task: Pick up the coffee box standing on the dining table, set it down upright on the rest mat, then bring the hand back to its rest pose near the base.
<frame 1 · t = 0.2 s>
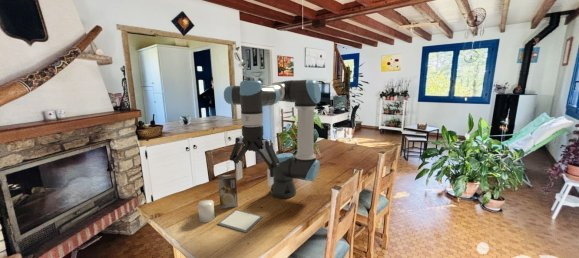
hand: (254, 181, 91), 28 cm above the table, fingers open, 13 cm apart
rest mat: (240, 220, 116), on the table
cream capsule pill: (207, 218, 118), on the table
coffee box: (228, 205, 131), on the table
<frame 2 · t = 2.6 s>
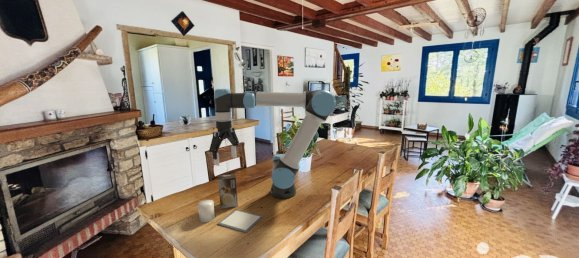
hand: (225, 161, 127), 24 cm above the table, fingers open, 13 cm apart
nothing on the table moved.
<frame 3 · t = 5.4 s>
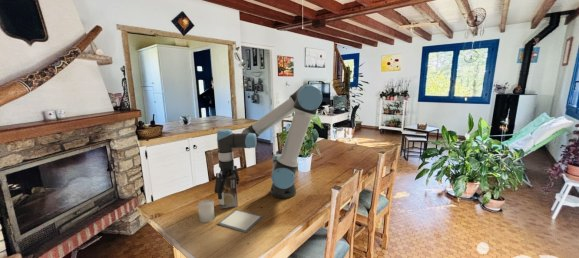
hand: (228, 199, 131), 3 cm above the table, fingers closed on coffee box, 10 cm apart
coffee box: (228, 205, 131), on the table, touching gripper
everything else where it was.
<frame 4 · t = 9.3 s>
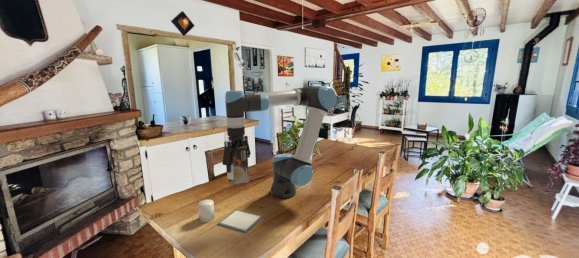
hand: (238, 174, 112), 23 cm above the table, fingers closed on coffee box, 10 cm apart
coffee box: (238, 181, 112), point 20 cm above the table, touching gripper
everything else where it was.
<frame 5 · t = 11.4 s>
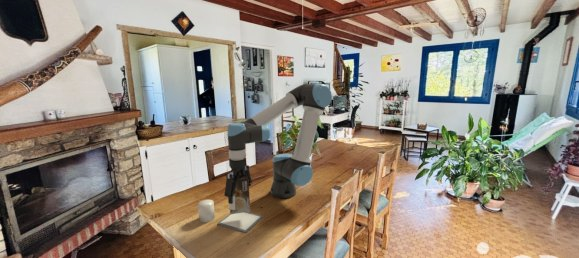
hand: (239, 204, 114), 9 cm above the table, fingers closed on coffee box, 10 cm apart
coffee box: (239, 210, 115), point 5 cm above the table, touching gripper
everything else where it was.
when the fingers open (5 cm above the table, at t = 13.3 s): coffee box drops 1 cm, resting on rest mat.
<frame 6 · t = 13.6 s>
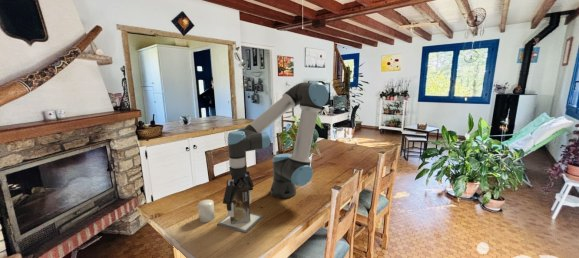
hand: (240, 209, 115), 6 cm above the table, fingers open, 13 cm apart
coffee box: (240, 220, 116), resting on rest mat
everything else where it was.
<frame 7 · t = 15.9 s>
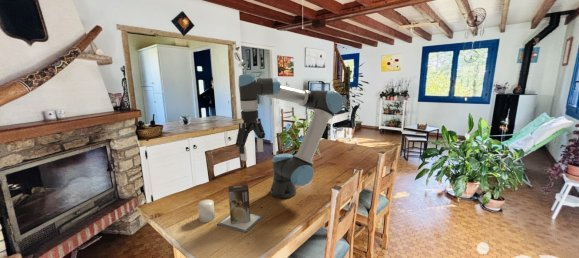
hand: (252, 155, 114), 31 cm above the table, fingers open, 13 cm apart
nothing on the table moved.
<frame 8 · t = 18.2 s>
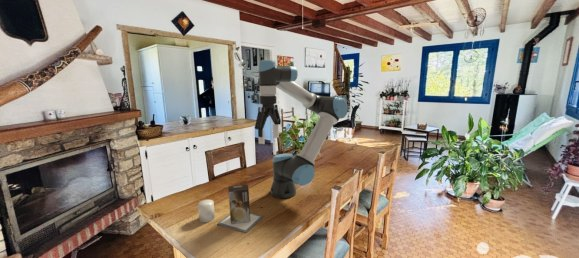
hand: (269, 140, 117), 37 cm above the table, fingers open, 13 cm apart
nothing on the table moved.
at the end: coffee box inside the target area on the rest mat (0.2 cm from its centre), point 0.4 cm above the rest mat's base; coffee box tilted 0°; the gripper is holding nothing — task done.
